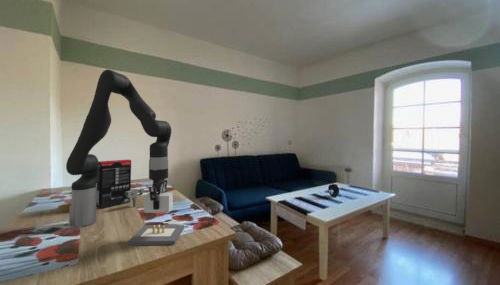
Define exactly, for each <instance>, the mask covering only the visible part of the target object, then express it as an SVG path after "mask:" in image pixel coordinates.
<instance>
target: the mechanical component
mask: <svg viewBox="0 0 500 285" xmlns="http://www.w3.org/2000/svg"><path fill="white" fill-rule="evenodd" d="M143 194H144V188H140V189H139V191H138V189H131V190H130V191H126V192H125V195H126V197H128V198H130V199H131V200H132V207H133V208H136V207H137V200H138V197H140V196H142V195H143Z"/></svg>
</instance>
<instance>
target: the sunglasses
mask: <svg viewBox="0 0 500 285" xmlns="http://www.w3.org/2000/svg"><path fill="white" fill-rule="evenodd" d="M70 205H72V202H71V203H63V204H59V205H58V206H57V208H58V212H59V213H69V206H70Z"/></svg>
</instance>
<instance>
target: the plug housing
mask: <svg viewBox="0 0 500 285" xmlns="http://www.w3.org/2000/svg"><path fill="white" fill-rule="evenodd" d="M173 194H174V192H166V193H161V195H160V198H159V209H158V210H154V209H153V201H151V200H150V193H149V192H148V193H147V194H145V195H144V199H143V200H144V207H143V208H144V209H143V210H144V213H146V214H149V213H151V214H152V213H153V214H154V213H158V214H160V213H163V214H164V213H170V212H171V211H172V210H173V209H174V207H173V206H174V205H173V204H174V203H173V202H174V199H173V198H174V195H173ZM157 196H158V195H157Z"/></svg>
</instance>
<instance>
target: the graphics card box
mask: <svg viewBox="0 0 500 285" xmlns="http://www.w3.org/2000/svg"><path fill="white" fill-rule="evenodd" d="M98 162H99V172H98V181H97V183H96V208H99V209H105V208H108V207H113V206H118V205H122V204H127V203H130V202H131V198H128V197H126V195H125V192H126V191H130V190H132V189H131V188H132V186H131V183H132V181H131V180H132V159H117V160H116V159H114V160H101V161H99V160H98Z"/></svg>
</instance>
